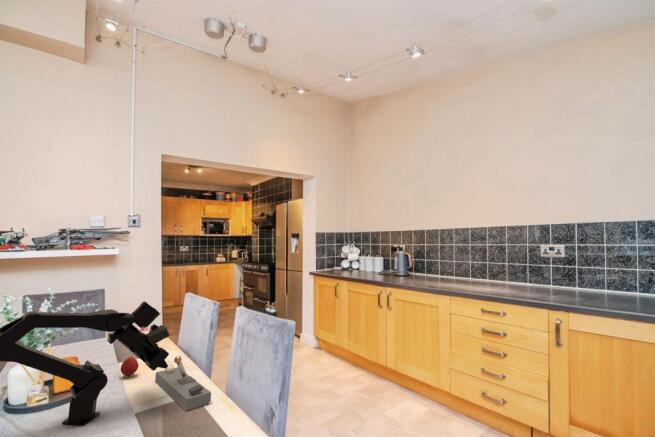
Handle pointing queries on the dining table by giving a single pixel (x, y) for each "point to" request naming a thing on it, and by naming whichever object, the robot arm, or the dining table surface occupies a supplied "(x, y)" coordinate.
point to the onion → (129, 366)
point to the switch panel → (182, 389)
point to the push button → (169, 369)
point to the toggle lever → (180, 366)
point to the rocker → (195, 389)
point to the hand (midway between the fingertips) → (166, 367)
